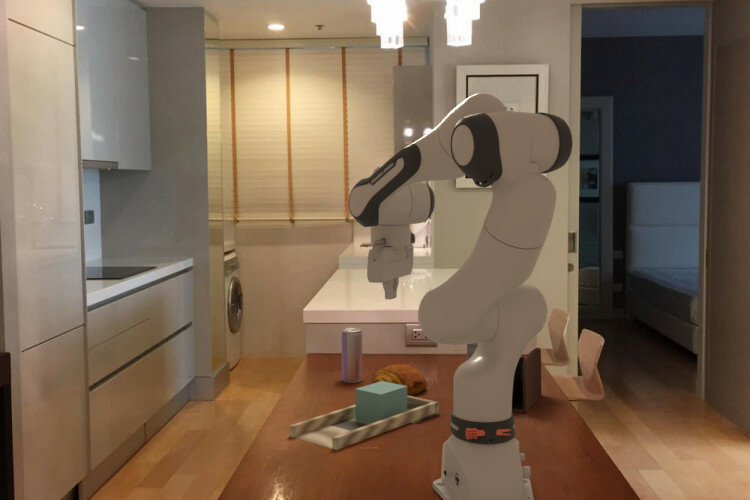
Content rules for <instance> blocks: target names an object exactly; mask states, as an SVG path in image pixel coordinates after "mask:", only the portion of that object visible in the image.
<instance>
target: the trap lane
mask: <svg viewBox="0 0 750 500" xmlns="http://www.w3.org/2000/svg"><path fill="white" fill-rule="evenodd" d="M439 412H440V401H435V400H432V399H425V398H423V397H422V398H421V397H417V396H413V395H407V411H406V412H403V413H400V414H397V415H394V416H391V417H389V418H386V419H383V420H380V421H377V422H374V423H368V422H364V421H360V420H356V403H355V404H353V405H350V406H347V407H343V408H340V409H337V410H334V411H330V412H327V413H324V414H322V415H317V416H315V417H311V418H308V419H306V420H302V421H299V422H296V423H293V424H291V425H289V426H288V427H289V428H288V429H289V437H290V438H293V439H297V440H301V441H304V442H307V443H311V444H314V445H317V446H321V447H325V448H327V449H331V450H334V451H338V450H341V449H343V448H345V447H348V446H349V447H350V446H351V445H354V444H357V443H359V442H362V441H365V440H368V439H370V438H372V437H375V436H379V435H381V434H385V432H389V431H392V430H393V429H396V428H399V427H402V426H405V425H407V424H410V423H412V424H416V423H419V422H422V421H424V420H427V419H429V418H433V417H435V416H437V415H440V414H439Z"/></svg>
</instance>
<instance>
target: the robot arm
mask: <svg viewBox="0 0 750 500" xmlns="http://www.w3.org/2000/svg"><path fill="white" fill-rule="evenodd" d="M572 149H573V135H572V132H571V129H570V126H569V125H568V123H567V121H565V120H564V119H563V118H562V117H559V116H557V115H555V114H552V113H551V114H550V113H548V112H542V111H541V112H535V113H534V112H524V111H523V112H521V111H515V110H514V111H513V110H510V111H509V110H507V107H506V106H505V103H503V102H502V101H501V100H500V99H499V98H497V97H496V96H494V95H492V94H489V93H481V92H480V93H475V94H473V95H472V94H471V96H469V97H467V98H466V99H464V100H463V101H461V102H460V103H459V104H458V105H457V106H455V107H454V108H453V109H452V110H451V111H450V112H448V114H447V115H446V116H445V117H444V118H443V119H442V121H441V122H440V123H439V124H438V125H437V126H435V127H434V128H433V129H432V130H430V131H429V132H427V133H426V134H425V135H423V136H422V137H421V138H419V139H417V140H416V141H414V142H413V143H410V144H409V145H407V146H405V147H404V148H401V150H399V151H398V152H395V154H394V155H392V157H390V158H389V159H388V160H387V161H386V162H384V164H383V165H381V166H377V167H375V169H373V172H372V174H371V175H370V176H369V177H366V178H361V179H360V180H359V181H358V182H357V183H355V185H354V186H353V188H352V189H351V190H350V193H349V197H348V210H349V214H350V215H351V216H352V218H353V219H354V220H355V221H356V222H357V223H358V224H359V225H361V226H362V227H364V228H370V245H371V248H370V249H369V251H368V254H367V255H368V256H367V265H366V266H367V268H366V269H367V272H366V277H367V282H368V283H375V284H376V283H377V284H378V283H379V284H381V283H382V287H383V291H384V299H385V300H393V299H396V298H397V295H398V294H397V291H398V287H399V283H400V279H401V278H403V277H406V276H409V275H411V274H412V272H413V267H414V245H413V244H415V243H416V234H415V233H414V232H413V231H412V230H411V229H410V227H411V225H417V224H421V223H425V222H427V221H428V220H429V219H430V218H431V216H432V215H433V213H434V210H435V204H436V203H435V200H436V199H435V197H436V196H435V193H434V190H433V189H432V188H431V186H430V184H429V183H427V182H430V181H431V182H432V181H433V182H434V181H443V180H445V181H446V180H447V181H448V180H455V179H459V178H463V177H466V176H467V177H468V178H470V179H472V181H473V183H474V185H475V186H477V187H479V188H487V187H490V186H491V190H492V199H491V203H490V205H489V207H488V210H487V213H486V216H485V218H484V221H483V223H482V226H481V229H480V232H479V235H478V237H477V239H476V242H475V244H474V247H473V249H472V250H471V252H470V255H469V256H468V257H467V259H466V260H465V261H464V263H463V264H461V266H460V267H459V268H458V270H456V272H454V274H453V275H452V276H451V277H449V278H448V279H447V280H446V281H444V282H443V283H442V284H440V285H438V286H436V287H434V289H433V288H432V289H431V290H429V291H427V292H426V293H425V294H424V296H423V297H422V299H421V301H420V303H419V305H418V310H417V320H418V324H419V327H420V330H421V331H422V333H423V335H424V336H425V337H426V339H428V341H430V342H432V343H437V344H444V345H452V346H459V345H467V344H473V343H478V346H477V349H476V351H475V352H474V354H473V355H472V356H471V358H470V359H468V360H467V359H466V361H464V362H463V363H462V364H460V365H459V366H458V367H457V368H456V371H455V372H454V375H453V382H452V385H453V389H452V390H453V391H452V392H453V393H452V395H453V396H452V398H453V399H452V400H453V401H452V403H453V404H452V405H453V406H452V407H453V408H452V409H453V410H452V411H451V414H450V419H449V424H450V433H451V434H450V436H449V437H448V438H447V440H445V441H444V443H443V444H442V451H441V472H440V478H438V479H435V480H434V481H433V482H432V489H433V490H434V491H435V492H436V493H437V494H438V496H439V497H440V498H442V499H443V500H535V499H534V494H533V488H532V484H531V480H530V479H531V476H532V475H531V474H532V471H531V466H530V465H522V462H523V461H525V460H526V459H525V457H526V455H525V453H523V452H522V453H521V452H520V441H519V440H518V439H517V438H516V421H515V417H514V414H513V413H512V393H513V380H514V374H515V370H516V366H517V364H518V361H519V359H520V357H522V354H523V352H524V351H525V349H526V347H527V346H528V344H529V343H530V342H531V340H532V339H533V338H535V336H536V335H538V334H539V333H540V332H541V331H542V330H543V328H544V326H545V324H546V321H547V320H548V319H547V318H548V306H547V305H548V304H547V301H546V299H545V296H544V295H543V294H542V291H541V290H539V288H538V287H536V286H534V285H531V284H525V282H526V281H527V280H528V279H530V277H531V275H532V274H533V271H534V269H535V267H536V264H537V262H538V260H539V257H540V255H541V252H542V250H543V247H544V244H545V242H546V240H547V237H548V234H549V232H550V228H551V226H552V222H553V218H554V214H555V208H556V203H557V190H556V187H555V186H554V183H553V182H552V181H551V180H550V179H549V178H548V177H547V176H546V175H544V174H549V173H551V172H554V171H556V170H557V171H558V170H559V169H561V168H562V167H564V166H565V165H566V164H567V162H568V161H569V159H570V157H571V155H572Z"/></svg>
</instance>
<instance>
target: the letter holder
mask: <svg viewBox="0 0 750 500" xmlns="http://www.w3.org/2000/svg"><path fill="white" fill-rule="evenodd" d="M542 391H543V390H542V350H541V348H540V347H536V348H533V349H532V350H531V351H530V352H529V353H528V354H527V355H526V357H525V356H520V359H519V361H518V364H517V366H516V370H515V374H514V380H513V393H512V414H513V413H514V414H523V415H525V414H527V412H528V411H529V410H530V409H531V408H532V406H533V405H535V403H536V402H537V400H538V399H539V398H540V397H541V396H542Z"/></svg>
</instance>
